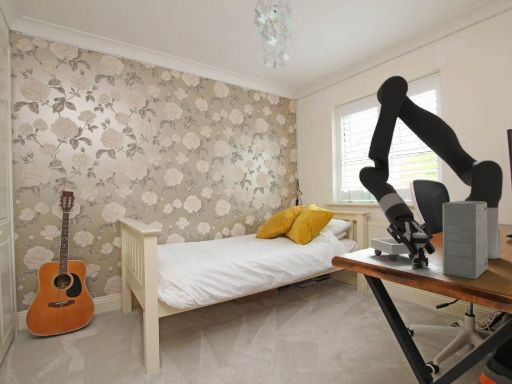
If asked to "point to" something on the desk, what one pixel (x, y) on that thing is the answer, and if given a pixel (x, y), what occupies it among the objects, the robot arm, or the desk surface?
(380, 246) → the parts trolley
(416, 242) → the push button
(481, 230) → the hard drive box
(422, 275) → the desk surface
